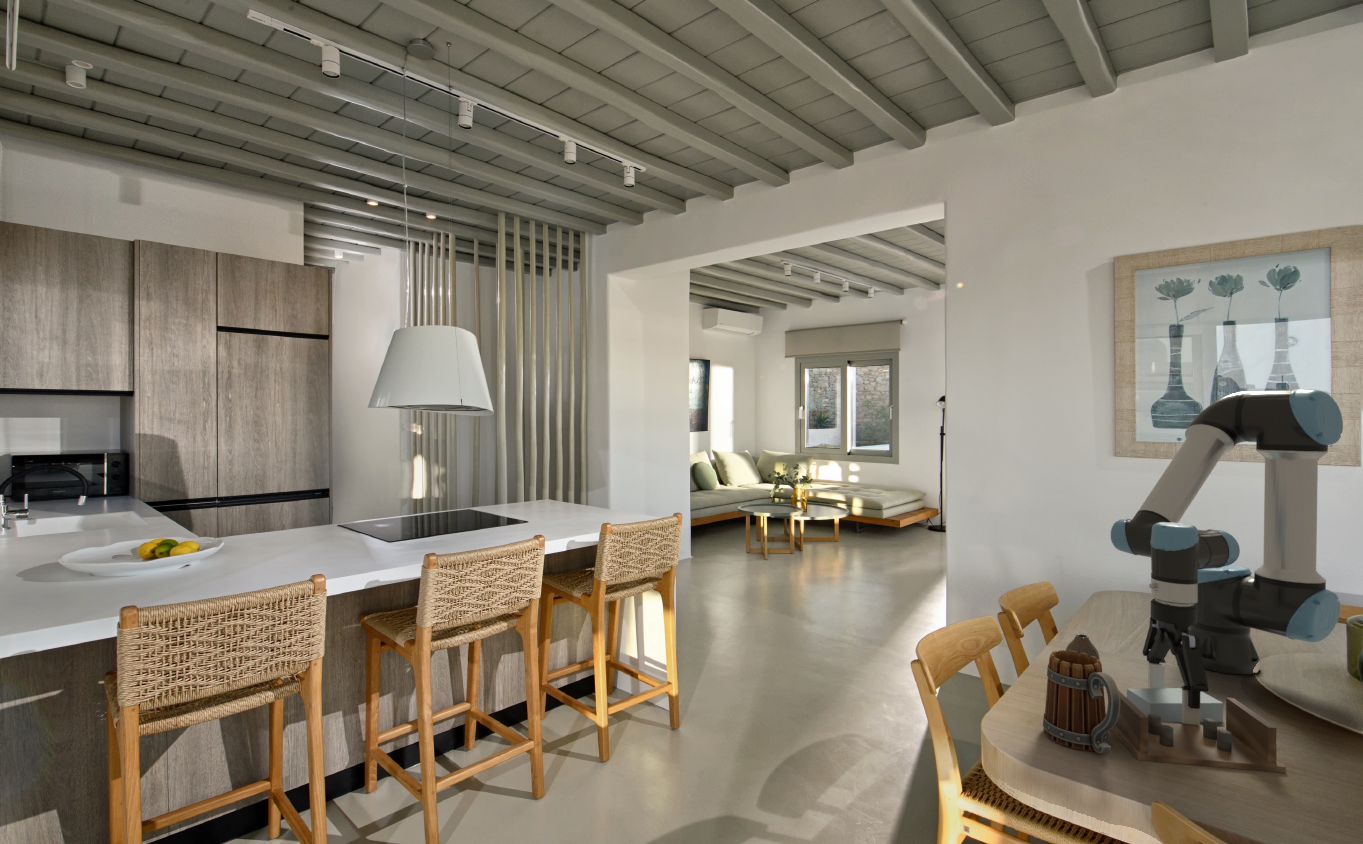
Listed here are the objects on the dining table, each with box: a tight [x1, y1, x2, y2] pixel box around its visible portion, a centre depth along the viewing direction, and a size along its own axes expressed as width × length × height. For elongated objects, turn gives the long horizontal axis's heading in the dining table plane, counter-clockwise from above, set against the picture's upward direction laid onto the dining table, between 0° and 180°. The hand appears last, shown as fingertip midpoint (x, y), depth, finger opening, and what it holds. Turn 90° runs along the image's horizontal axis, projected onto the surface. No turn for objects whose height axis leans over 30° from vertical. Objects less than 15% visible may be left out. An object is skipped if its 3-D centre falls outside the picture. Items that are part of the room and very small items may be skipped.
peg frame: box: [1110, 689, 1287, 774], centre depth 120 cm, size 22×14×7 cm, turn 78°
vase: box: [1065, 633, 1101, 661], centre depth 154 cm, size 7×7×9 cm
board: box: [1126, 687, 1224, 723], centre depth 133 cm, size 14×7×4 cm, turn 89°
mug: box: [1042, 649, 1120, 754], centre depth 121 cm, size 16×11×15 cm
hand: (1172, 708), depth 133 cm, fingers open, 12 cm apart
